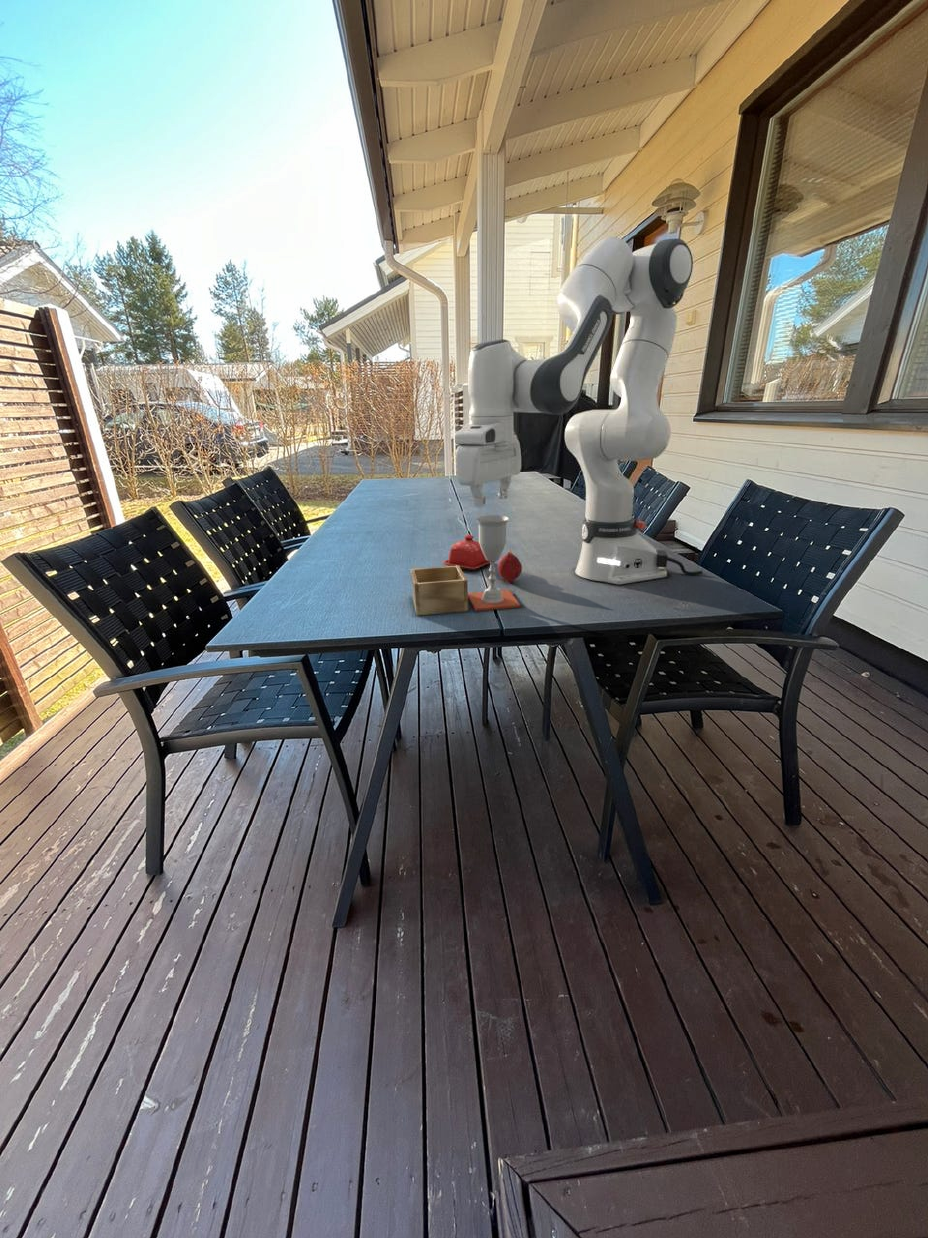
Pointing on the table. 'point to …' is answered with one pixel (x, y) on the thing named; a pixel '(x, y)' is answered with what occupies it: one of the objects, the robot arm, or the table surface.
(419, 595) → the open wooden box
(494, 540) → the chalice
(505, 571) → the onion
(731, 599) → the table surface
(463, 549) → the butter dish
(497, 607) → the coaster
